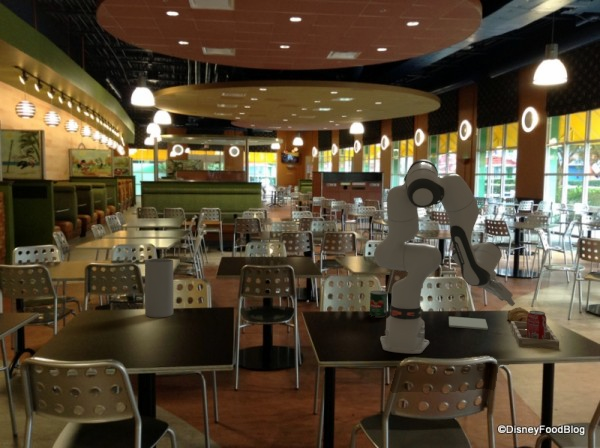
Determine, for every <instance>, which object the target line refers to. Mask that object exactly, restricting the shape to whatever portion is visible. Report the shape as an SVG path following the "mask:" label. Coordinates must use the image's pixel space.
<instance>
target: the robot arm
mask: <svg viewBox="0 0 600 448" xmlns="http://www.w3.org/2000/svg"><path fill="white" fill-rule="evenodd" d="M438 174H439V172H438V169H437V167H436V165H435V163H434V162H432V161H431V160H429V159H426V158H422V159H421V158H420V159H418V160H415V161H414V162H413V163H412V164H411V165H410V167H408V170H407V172H406V174H405V176H404V177H403V182H404V183H403V184H402V185H396V186H393V187H392V188H391V189H389V191H388V193H387V196H386V216H387V224H388V227H387V229H388V232H387V233H388V234H387V236H386V238H385V239H384V240H383V241H381V242H380V243H379V244H378V245H376V247H375V249H374V253H373V258H374V261H375V264H376V265H377V266H378V267H381V268H383V269H387V270H390V271H391V270H394V271H402V272H403V271H405V272H407V275H406V277H404V278H402V279H399V280H397V281H395V282H394V283H393V284H392V286H391V303H390V306H389V316H388V317H386V319H385V320H386V321H385V330H384V332H383V333H384V334H385V335H383V336H382V335H381V336H380V338H379V339H380V343H381V347H382V350H384V351H387V352H392V353H399V354H421V353H423V351H424V350H425V349H426V348H427V347H428V346H429V344H430V341H429V340H428V339H425V335H426V333H425V331H426V327H425V325H426V324H425V321H424V320H423V318H422V307H421V299H422V297H421V296H422V289H423V285H424V283H425V282H426V280H427V278H428V277H429V276H430V275H431V274H432V273H434V272H436V271H437V270H438V269H439V267H440V265H441V262H442V253H441V251H440V249H439V248H438V247H437V246H435V245H432V244H430V243H429V244H428V243H422V242H421V243H419V242H408V241H410V240H412V239H413V238H415V237H416V236H417V235H418V233H419V231H420V224H419V212H418V208H428V207H432V206H434V205H439V204H440V203H441V205H442V207H443V209H444V211H445V213H446V216H447V220H448V223H449V234H450V239H451V243H452V245H453V248H454V250H453V251H452V254H451V257H452V259H453V260H454V261H453V262H454V263H455V264H456V265H457V266H458V268H460V272H461V273H460V274H461V276H462V278H463V280H464V281H465V282H466V283H467V284H468V285H470V286H473V287H477V288H479V289H483V290H485V291H487V292H488V293H490V294H492V295H493V296H495V297H496V298H498V299H499V300H500V301H502V302H503V301H505V302H506V303H508V305H509V306H511V307H513V306H515V304H516V303H515V301H514V300H513V298H512V297H513V293H512V292H511V291H510V290H509V289H508V287H506V286H505V285H504V284H503V283H502V282H501V281H499V280H498V279H497V272H496V271H495V270H496V268H497V267H498V264H499V263H500V261H501V259H502V257H503V254H502V253H503V252H502V250H501V249H500V248H499V246H498V245H497V244H496V243H493V242H491V241H483V242H480V243H472V234H473V231H474V228H475V226H476V223H477V220H478V218H479V214H480V211H479V204H478V201H477V200H476V197H475V196H474V193H473V192H472V190H471V188H470V186H469V185H468V183H467V182H466V180H465V179H463V177H462V176H461V175H459V174H458V173H450V174H449V173H448V174H446V175H444V176H443V175H442V176H440V175H438Z"/></svg>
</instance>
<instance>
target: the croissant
mask: <svg viewBox="0 0 600 448" xmlns="http://www.w3.org/2000/svg"><path fill="white" fill-rule="evenodd" d="M528 314H529V310H527V309H525V308H524V307H523V308H522V307H515V308H512V309H511V310H508V312H507V314H506V315H507V316H506V317H507V319H508V321H510V322H511V321H518V322H527V316H528Z"/></svg>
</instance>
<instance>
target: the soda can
mask: <svg viewBox="0 0 600 448" xmlns="http://www.w3.org/2000/svg"><path fill="white" fill-rule="evenodd" d="M528 312H529V314H528V316H527V332H526V337H527V338H534V339H545V338H546V324H547V316H546V312H544V311H541V310H540V311H539V310H530V311H529V310H528Z"/></svg>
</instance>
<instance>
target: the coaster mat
mask: <svg viewBox="0 0 600 448" xmlns="http://www.w3.org/2000/svg"><path fill="white" fill-rule="evenodd" d="M448 327H449V328H460V329H461V328H462V329H474V330H484V331H487V330H489V328H488V324H487V320H486V318H475V317H474V318H473V317H472V318H471V317H463V316H462V317H459V316H448Z"/></svg>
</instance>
